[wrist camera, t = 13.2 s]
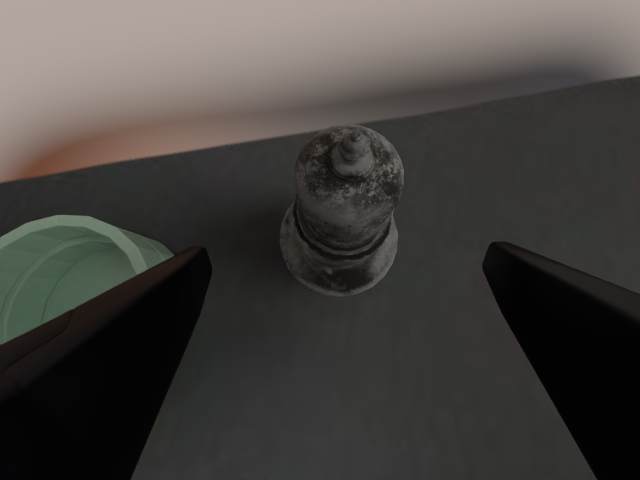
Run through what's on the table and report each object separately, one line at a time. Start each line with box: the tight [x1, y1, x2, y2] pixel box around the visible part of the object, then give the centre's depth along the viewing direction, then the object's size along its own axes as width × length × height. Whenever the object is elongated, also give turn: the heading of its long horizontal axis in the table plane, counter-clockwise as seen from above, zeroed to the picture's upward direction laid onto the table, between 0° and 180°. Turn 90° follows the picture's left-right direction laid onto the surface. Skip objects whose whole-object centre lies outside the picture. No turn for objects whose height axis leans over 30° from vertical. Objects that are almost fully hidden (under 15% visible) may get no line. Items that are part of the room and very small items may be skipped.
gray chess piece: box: [279, 124, 404, 297], centre depth 11 cm, size 6×6×12 cm
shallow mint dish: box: [0, 215, 174, 345], centre depth 14 cm, size 10×10×4 cm
